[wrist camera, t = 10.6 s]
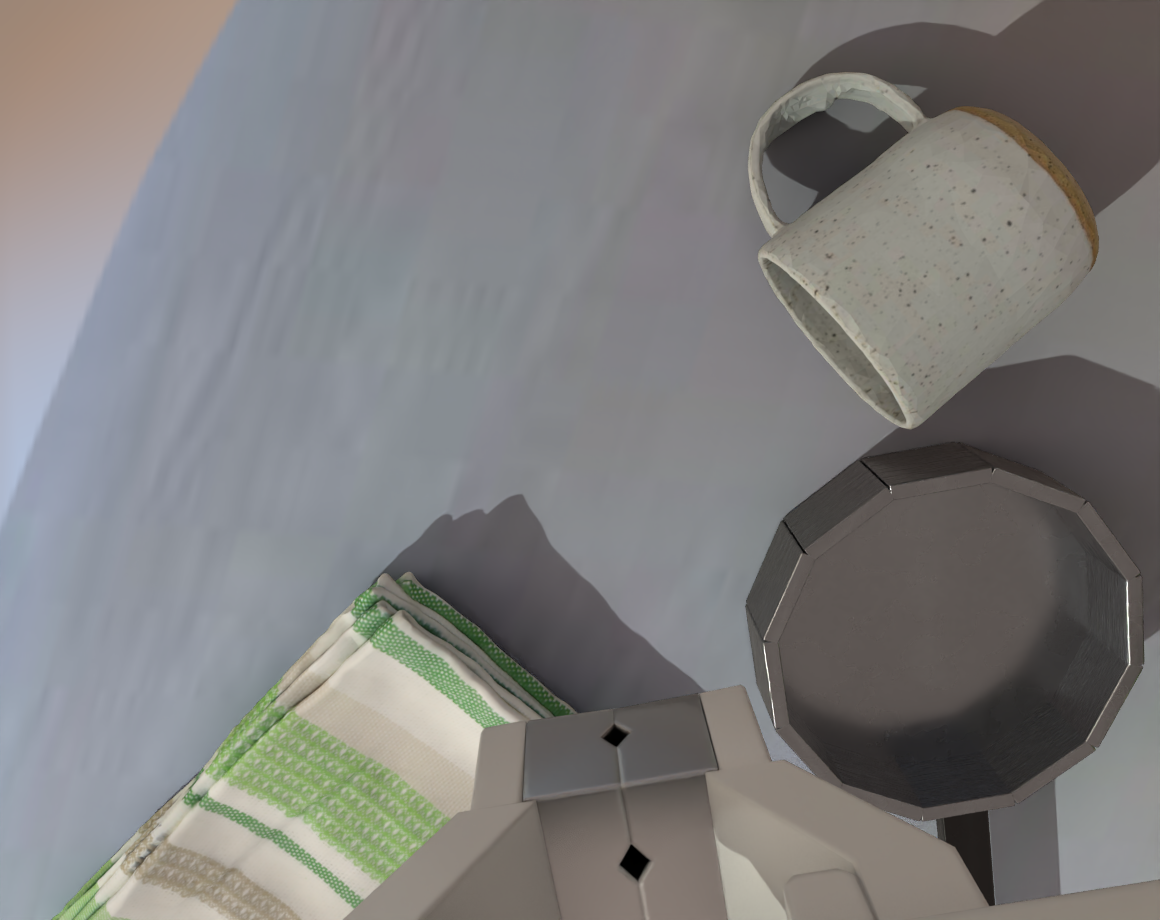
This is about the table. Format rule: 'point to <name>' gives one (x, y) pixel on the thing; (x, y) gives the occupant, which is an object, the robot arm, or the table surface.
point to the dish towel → (327, 772)
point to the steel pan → (945, 636)
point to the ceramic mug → (924, 246)
